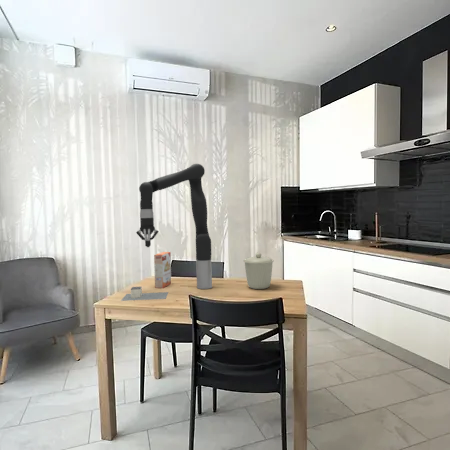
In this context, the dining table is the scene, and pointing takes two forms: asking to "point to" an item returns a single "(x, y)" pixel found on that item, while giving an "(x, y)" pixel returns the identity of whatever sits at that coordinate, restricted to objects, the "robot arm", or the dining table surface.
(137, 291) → the cube
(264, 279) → the canister
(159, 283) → the cracker box
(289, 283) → the dining table surface
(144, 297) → the mat
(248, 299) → the dining table surface
